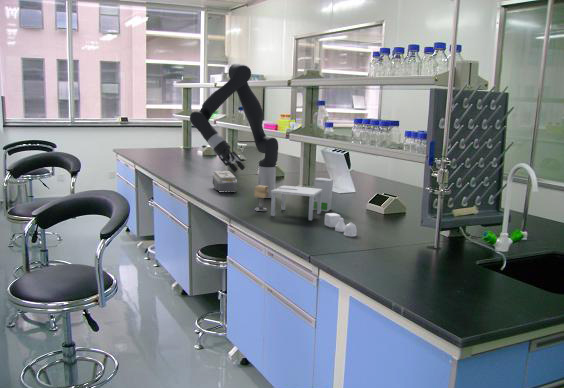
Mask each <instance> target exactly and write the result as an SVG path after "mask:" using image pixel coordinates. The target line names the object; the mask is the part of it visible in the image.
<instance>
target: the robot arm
mask: <svg viewBox="0 0 564 388" xmlns="http://www.w3.org/2000/svg"><path fill="white" fill-rule="evenodd" d="M227 73H228V77H229V80H228V81H227V82H226V83H225V84H224V85H222V86H221V87H219V88H218V89H216V90H215V91H213V93H211V94H210V95H209V96H208V97H207V99H206V100H204V101H203V103H202V104H201V108H200V110H198V111H197V110H195V111H194V110H193V111H192V112H191V113H190V115H189V121H190V123H191V125H192V126H193V127H194V128H195V129H197V131H198V132H199V133H200V134H201V136H202V137H203V139H204V141H206V143H207V144H208V145H209V147H210V148H211V149H212V150H213V152H214V153H215V154H216V156H218V158H219V159H220V161H221V162H222V163H223V164H224V166H225V167H229V168H230V169H231V170H232V172H234V173H236V172H237V171H238V170H239V169H240V170H241V171H243V170H244V169H245V168H246V167H245V165H244V163H242V159H241V157H240V156H239V155H238V154H237V152H235V151H234V150H233V151H231V146H230V145H229V143H228V142H227V140H226V139H225V138H223V136H222V135H221V134H220V133H219V132H218V131H217V129H215V127H213V125H212V124H211V123H210V122H209V121H210V119H212V116H213V115H214V114H215V113H216V111H218V109H219V108H221V106H222V105H223V104H224V103H225V101H226V100H227V99H229V97H231V96H232V95H233V94H234V93H235V92H236V93H237V96H238V99H239V102H240V104H241V107H242V109H243V112H244V115H245V117H246V119H247V122H248V125H249V128H250V130H251V132H252V136H253V140H254V143H255V146H256V150H257V151H258V152H259V153H261V154H264V158H263V159H260V160H259V161H258V185H262V186H268V197H265V198H271V196H272V193H271V190H274V189H276V176H277V175H276V173H277V172H276V170H277V167H276V166H277V161H278V156H279V141H278V139H277V138H276V137H273V136H267V135H266V133H265V130H264V129H263V122H264V111H263V108H262V106H261V103H260V101H259V98H257V96H256V95H255V93H254V92H253V90H252V89H251V87H250V85H249V83H248V82H249V80H250V79H251V77H252V71H251V69H250V67H249V66H248V65H245V64H241V63H233V64H231V65H230V66H229V68H228V72H227ZM238 168H239V169H238ZM258 185H257V186H258Z"/></svg>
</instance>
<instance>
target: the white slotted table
mask: <svg viewBox="0 0 564 388" xmlns="http://www.w3.org/2000/svg"><path fill="white" fill-rule="evenodd" d="M271 193H272V196H271V199H270V200H271V201H270V202H271V204H270V206H271V207H270V216H271V217H275V216H276V202H277V201H276V199H277V198H276V196H277V195H276V194H280V195H281V206H280V207H281V208H280V210H281V211H286V196H287V195H293V196H300V197H301V196H303V197H309V199H308V200H309V201H308V221H313V218H314V210H313V199H314V196H315V195H317V194H318V202H317V210H316V214H317V215H321V214H322V211H321V199H322V189H317V188H314V187H306V186H305V187H304V186H294V185H281V186H278V187H277V188H276V187H275V189H274V190H271Z"/></svg>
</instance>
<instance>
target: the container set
mask: <svg viewBox="0 0 564 388" xmlns="http://www.w3.org/2000/svg"><path fill="white" fill-rule="evenodd" d="M324 226H326V227H329V228H334V231H335V232H341V233H343V236H346V237H357V231H358V230H357V226H356V225H355V224H354V223H353V222H349V223H347V224H346V223H345V222H344V218H343V217H342V216H341V214H338V213H336V212H329V213H325V214H324Z"/></svg>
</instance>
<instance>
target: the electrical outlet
mask: <svg viewBox="0 0 564 388" xmlns="http://www.w3.org/2000/svg"><path fill="white" fill-rule="evenodd" d="M212 173H213V174H212V185H213V187H214V189H215V191H216V190H218V191H224V192H225V191H227V192H228V191H230V192H231V191H237V190H238V180H237V178H236V176H235V175H234V174H233V173H232V172H231V171H229V170H214V171H212ZM218 191H217V192H218Z"/></svg>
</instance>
